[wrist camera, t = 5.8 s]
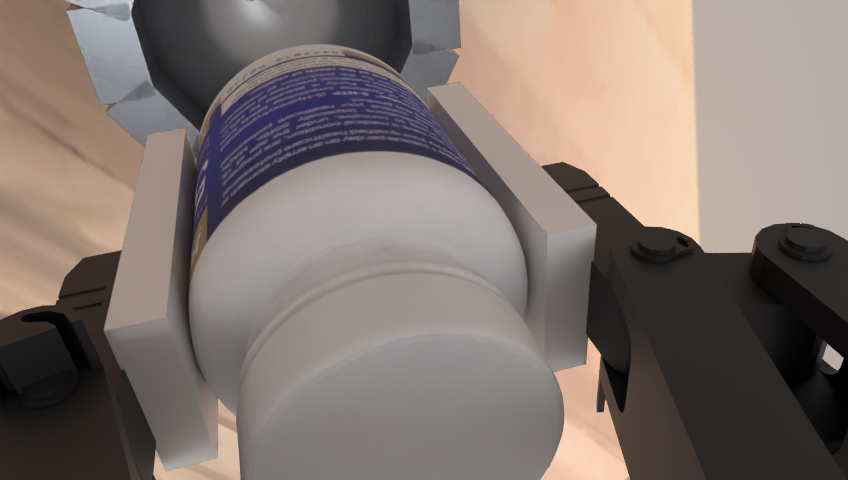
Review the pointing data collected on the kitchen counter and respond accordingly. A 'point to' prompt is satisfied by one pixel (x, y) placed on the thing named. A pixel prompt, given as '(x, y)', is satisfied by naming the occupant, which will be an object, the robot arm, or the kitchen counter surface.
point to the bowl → (242, 48)
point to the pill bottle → (360, 284)
